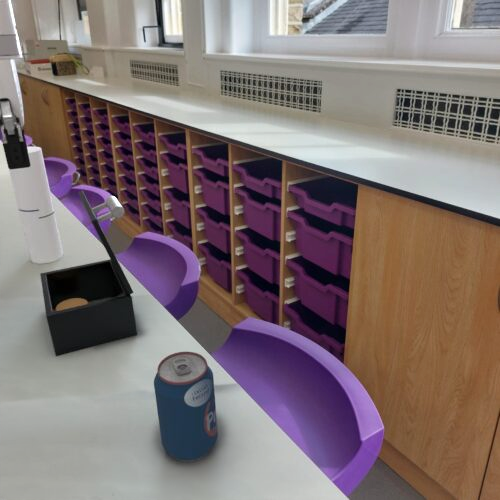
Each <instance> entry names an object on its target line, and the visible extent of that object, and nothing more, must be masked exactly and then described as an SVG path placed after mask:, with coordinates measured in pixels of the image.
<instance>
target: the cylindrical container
mask: <svg viewBox="0 0 500 500" xmlns="http://www.w3.org/2000/svg"><path fill="white" fill-rule="evenodd" d="M27 149H28V156H29V160H30V167H27V168H19V169H9V168H8V172H9V176H10V180H11V184H12V188H13V192H14V193H13V194H14V196H15V200H16V205H17V208H18V212H19V217H20V222H21V225H22V229H23V234H24V238H25V242H26V246H27V250H28V255H29V258H30V262H31V263H33V264H37V265H44V264H49V263H54V262H56V261H59V260H61V259H62V258H63V257H64V250H63V246H62V241H61V235H60V232H59V227H58V222H57V216H56V212H55V207H54V203H53V198H52V193H51V188H50V184H49V178H48V174H47V169H46V165H45V159H44V155H43V150H42V147H41V146H27Z"/></svg>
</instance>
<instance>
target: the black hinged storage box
mask: <svg viewBox="0 0 500 500" xmlns="http://www.w3.org/2000/svg"><path fill="white" fill-rule="evenodd" d="M39 275H40V281H41V282H40V283H41V289H42V295H43V303H44V309H45V316H46V317H45V318H46V321H47V325H48V330H49V333H50V339H51V342H52V347H53V351H54V354H55V357H60V356H63V355H66V354H70V353H74V352H79V351H81V350H85V349H90V348H93V347H98V346H100V345H105V344H108V343H109V344H110V343H112V342H116V341H120V340H123V339H128V338H132V337H136V336H138V329H137V323H136V322H137V321H136V316H135V310H134V304H133V296H132V294H130V295H129V294H128V292H127V290H126V288H125V286H124V284H123V282H122V280H121V278H120V276H119V274H118V272H117V271H116V269H115V267H114V265H113V263H112V261H111V259H110V258H109V259H105V260H101V261H96V262H91V263H90V262H89V263H85V264H81V265H77V266H76V265H75V266H70V267H65V268H61V269H56V270H51V271H45V272H41V273H39ZM72 298H82V299H85V300H87V302H88V304H85V305H81V306H77V307H72V308H68V309H64V310H59V311H56V306H57V305H58V304H59V303H61V302H63V301H65V300H68V299H72Z"/></svg>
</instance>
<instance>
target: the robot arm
mask: <svg viewBox="0 0 500 500" xmlns="http://www.w3.org/2000/svg"><path fill="white" fill-rule="evenodd" d="M19 59H23V52H22V47H21V44H20V39H19V33H18V29H17V24H16V20H15V14H14V9H13V5H12V0H0V131H1V135H2V140H3V141H2V147H3V151H4V156H5V160H6V164H7V168H8V170H9V169H19V168H27V167H30V160H29V156H28V149H27V147H28V145H27V141H26V136H25V131H24V130H23V129H22V127H24V125H25V113H24V102H23V96H22V89H21V86H20V80H19V75H18V71H17V65H16V61H15V60H19Z"/></svg>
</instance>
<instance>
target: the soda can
mask: <svg viewBox="0 0 500 500" xmlns="http://www.w3.org/2000/svg"><path fill="white" fill-rule="evenodd" d="M153 388H154V395H155V403H156V410H157V417H158V418H157V419H158V424H159V433H160V439H161V440H160V441H161V445H162V447H163V449H164V450H165V451H166V453H167V454H169V455H170V456H171V457H173V459H175V460H178V461H181V462H187V463H188V462H195V461H198V460H201V459H203V458H204V457H206V455H208V454H209V453H210V451H211V450H212V449H213V447H214V446H215V444H216V443H217V439H218V433H219V432H218V421H217V406H216V405H217V404H216V394H215V381H214V372H213V370H212V369H211V367H210V366H209V364H208V362H207V360H206V358H205V357H204V356H203V355H201V354H200V353H197V352H194V351H179V352H174V353H171V354H169V355H167V356H166V357H164V358H163V359H162V360H161V361H160V362H159V363H158V365H157V370H156V373H155V376H154V379H153Z"/></svg>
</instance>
